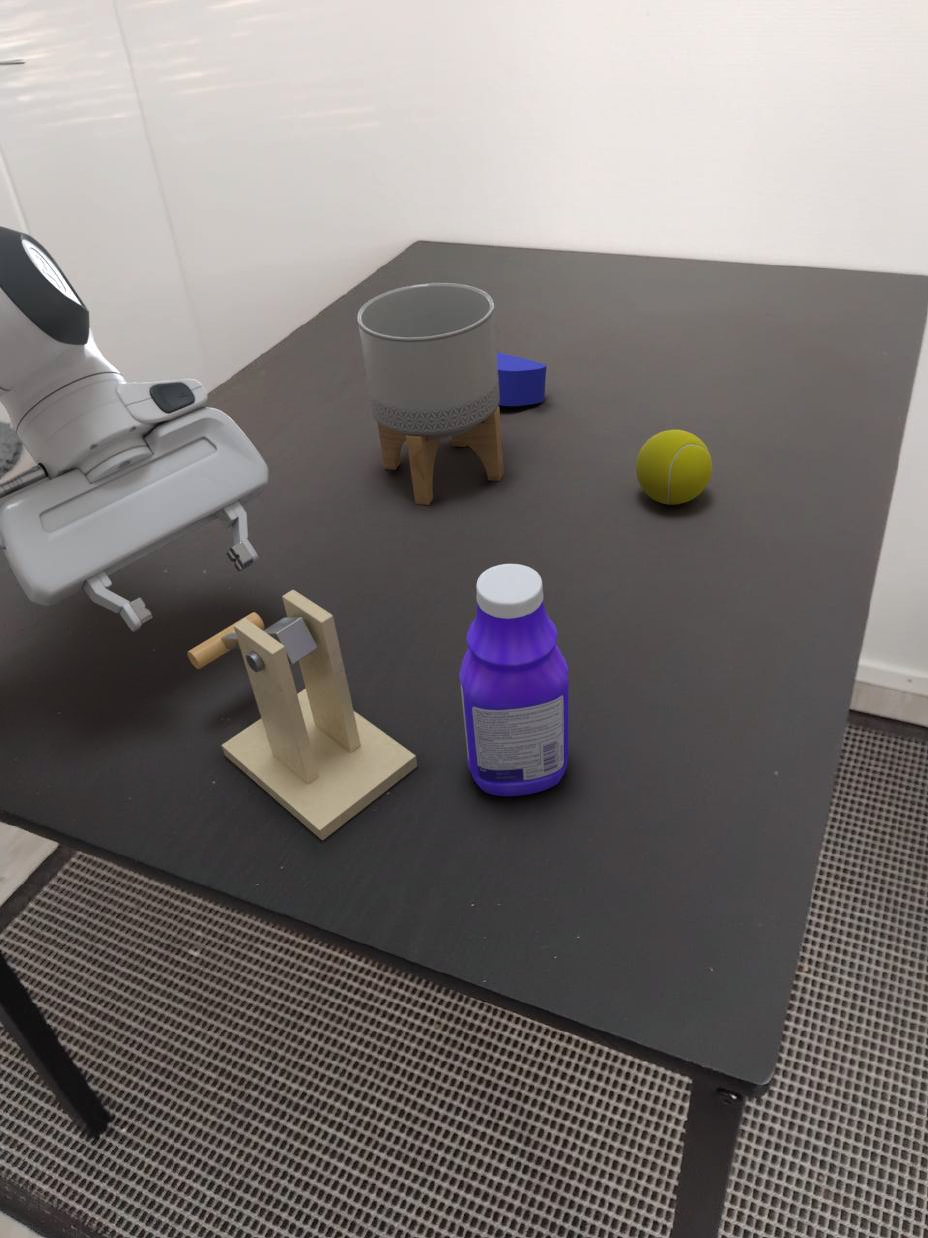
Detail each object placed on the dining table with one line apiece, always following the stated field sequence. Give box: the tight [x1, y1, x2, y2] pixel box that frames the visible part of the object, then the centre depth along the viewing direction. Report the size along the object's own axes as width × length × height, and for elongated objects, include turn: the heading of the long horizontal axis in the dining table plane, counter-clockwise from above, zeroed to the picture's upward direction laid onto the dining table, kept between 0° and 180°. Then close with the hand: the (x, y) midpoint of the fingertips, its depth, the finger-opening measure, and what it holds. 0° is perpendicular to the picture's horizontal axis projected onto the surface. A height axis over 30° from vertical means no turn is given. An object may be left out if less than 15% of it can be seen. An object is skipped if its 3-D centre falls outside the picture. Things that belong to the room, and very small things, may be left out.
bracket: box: [221, 589, 418, 841], centre depth 69 cm, size 12×9×14 cm
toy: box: [497, 351, 548, 407], centre depth 114 cm, size 12×6×10 cm
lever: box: [187, 612, 318, 670], centre depth 70 cm, size 13×6×2 cm, turn 45°
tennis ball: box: [635, 429, 713, 506], centre depth 94 cm, size 7×7×7 cm
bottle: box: [458, 563, 570, 797], centre depth 65 cm, size 7×6×17 cm
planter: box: [356, 282, 504, 506], centre depth 98 cm, size 13×13×18 cm
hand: (198, 594), depth 74 cm, fingers open, 8 cm apart
